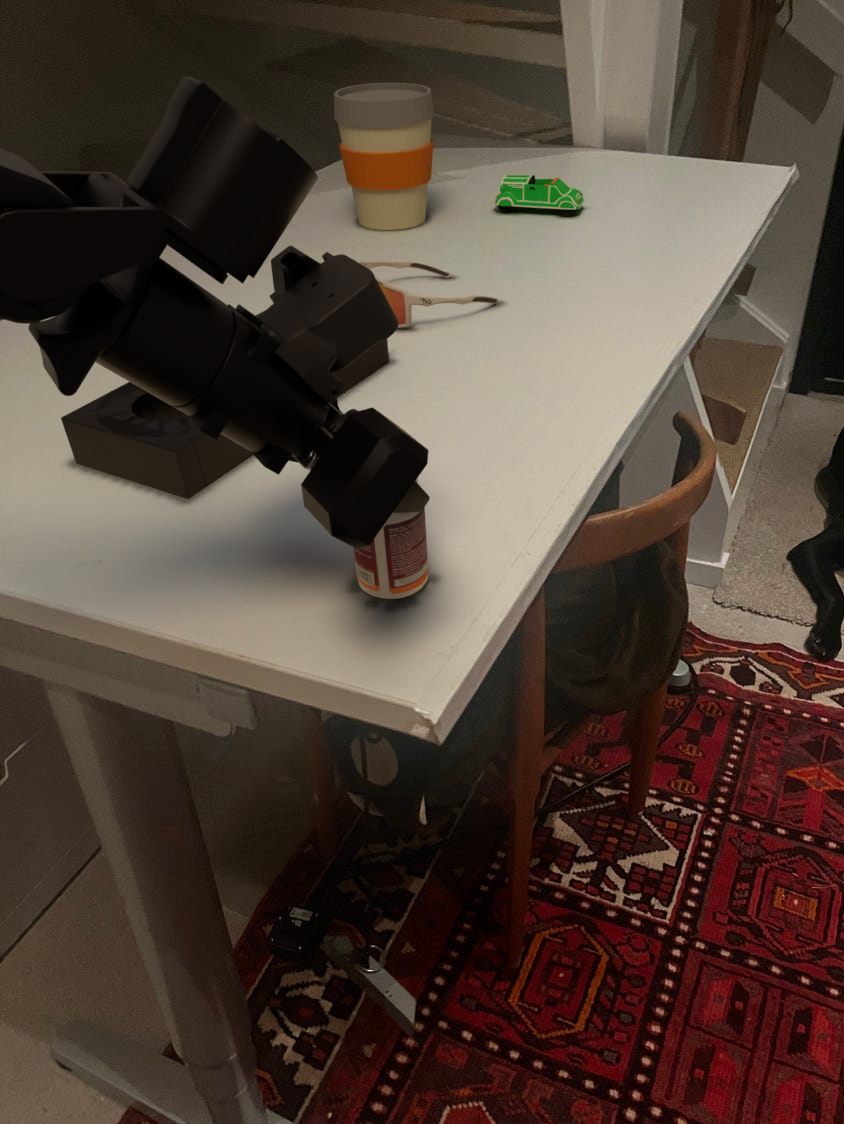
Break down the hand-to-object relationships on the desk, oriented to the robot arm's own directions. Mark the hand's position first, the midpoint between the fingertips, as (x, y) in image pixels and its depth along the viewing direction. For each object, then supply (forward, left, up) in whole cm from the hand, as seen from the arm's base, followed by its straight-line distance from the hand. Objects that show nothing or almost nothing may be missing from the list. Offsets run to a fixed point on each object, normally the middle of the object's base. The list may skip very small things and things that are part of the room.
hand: (405, 487), depth 58 cm
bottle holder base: (+7, +29, -7) cm, 31 cm away
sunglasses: (+35, +36, -7) cm, 51 cm away
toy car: (+70, +49, -7) cm, 85 cm away
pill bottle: (-1, 0, -7) cm, 7 cm away
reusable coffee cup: (+54, +61, -7) cm, 82 cm away
